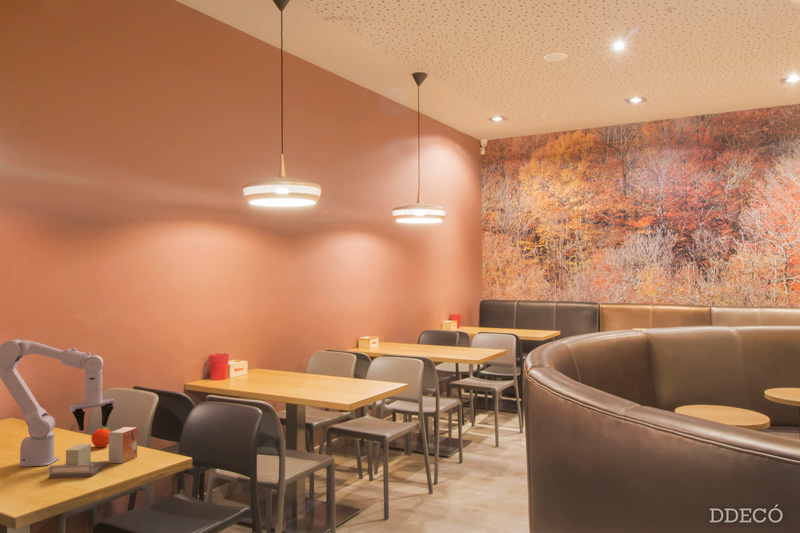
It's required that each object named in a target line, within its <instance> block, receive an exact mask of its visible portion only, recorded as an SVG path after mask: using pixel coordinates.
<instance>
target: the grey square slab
mask: <svg viewBox="0 0 800 533" xmlns="http://www.w3.org/2000/svg"><path fill="white" fill-rule="evenodd" d="M108 465H109V460H106V461H105V460H103V461H102V460H101V461H90V464H84V465H66V463H65V464H64V465H63V464H62V465H61V464H60V465H50V466H49V468H48V469H49V470H48V472H49V473H48V475H49V476H48V478H49V479H63V478H64V479H67V478H68V479H69V478H70V479H71V478H85V477H86V478H91V477H94V476H95V475H97V474H98V473H99V472H101V471H102V470H104V469H105V468H106V467H107V466H108Z"/></svg>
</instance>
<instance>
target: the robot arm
mask: <svg viewBox="0 0 800 533" xmlns="http://www.w3.org/2000/svg"><path fill="white" fill-rule="evenodd" d="M33 354H35V355H39V356H43V357H47V358H51V359H52V358H53V359H56V360H59V362H60V363H61V364H62V365H64V366H67V367H72V368H76V369H79V370H82V369H83V371H84V379H83V380H84V382H83V384H84V386H83V399H84V400H83V402H79V403H74V404H70V405H69V411H70V412H71V413H72V414H73V416H74V419H75V421H76V423H77V425H78V430H79V431H83V432H84V430H85V423H84V422H85V416H86V415H85V414H86V411H84V410H86V409H92V408H98V407H100V409H101V410H100V411H101V426H102V427H107V425H108V420H109V418H110V415H111V413H112V412H113V410H114V405H116V398H107V399H105V398H103V384H104V383H103V379H104V378H103V369H102V367H103V366H104V359H103V357H102V356H100V355H98V354H92V353H91V352H84V351H79V350H78V348H76V347H73V348H66V349H65V350H62V349H59V348H56V347H53V346H50V345H47V344H44V343H41V342H37V341H33V340H29V339H25V340H24V339H23V338H13V339H11V340H7V341H4V342H2V343H1V344H0V380H1V381H2V383H3V384H4V386H5V388H6V389H7V390H8V392H9V394H10V395H11V396H12V398H13V400H14V401H15V403H16V404H17V405H18V407H19V409H20V410H21V412H22V413H23V415H24V418H25V420H24V421H25V424H26V425H27V427H28V428H27V429H28V435H29V436H28V437H25V438H23V439H22V441H21V443H20V448H19V450H20V451H19V453H20V454H19V465H18V467H38V466H39V467H41V466H44V467H45V466H49V465H51V464H53V463H54V462H55V461H58V460H60V457H59V456H55V433H54V431H53V429H54V428H55V426H56V424H57V423H56V419H55V417H54V416H52V415H51V414H49V413H48V412H47V411H46V409H44V408H43V407H42V406H41V405H40V404H39V402H38V401H37V399H36V397H35V396H34V395H33V393H32V391H31V390H30V388H29V387H28V385H27V384H26V382H25V381H24V379H23V378H22V377H23V376H21V374H20V372H19V371H18V369H17V367H18V364H19V362H20V360H21V359H22V358H23V357H24V356H29V355H33Z"/></svg>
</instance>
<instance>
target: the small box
mask: <svg viewBox="0 0 800 533" xmlns="http://www.w3.org/2000/svg"><path fill="white" fill-rule="evenodd" d="M135 457H136V458H138V427H135V426H134V427H132V426H131V427H130V426H123V427H121V428H118V429H115V430H112V431H110V432H109V444H108V464H124V463H126V462H128V461H131V460H133V458H134V459H136V458H135Z"/></svg>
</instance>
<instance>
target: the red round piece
mask: <svg viewBox="0 0 800 533" xmlns="http://www.w3.org/2000/svg"><path fill="white" fill-rule="evenodd" d="M109 432H111V428H109V427H101V428H98V429H96V430H95V431H94V432H93V433H92V435H91V443H92V445H94V446H95V447H97V448H104V447H106V446H109Z"/></svg>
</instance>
